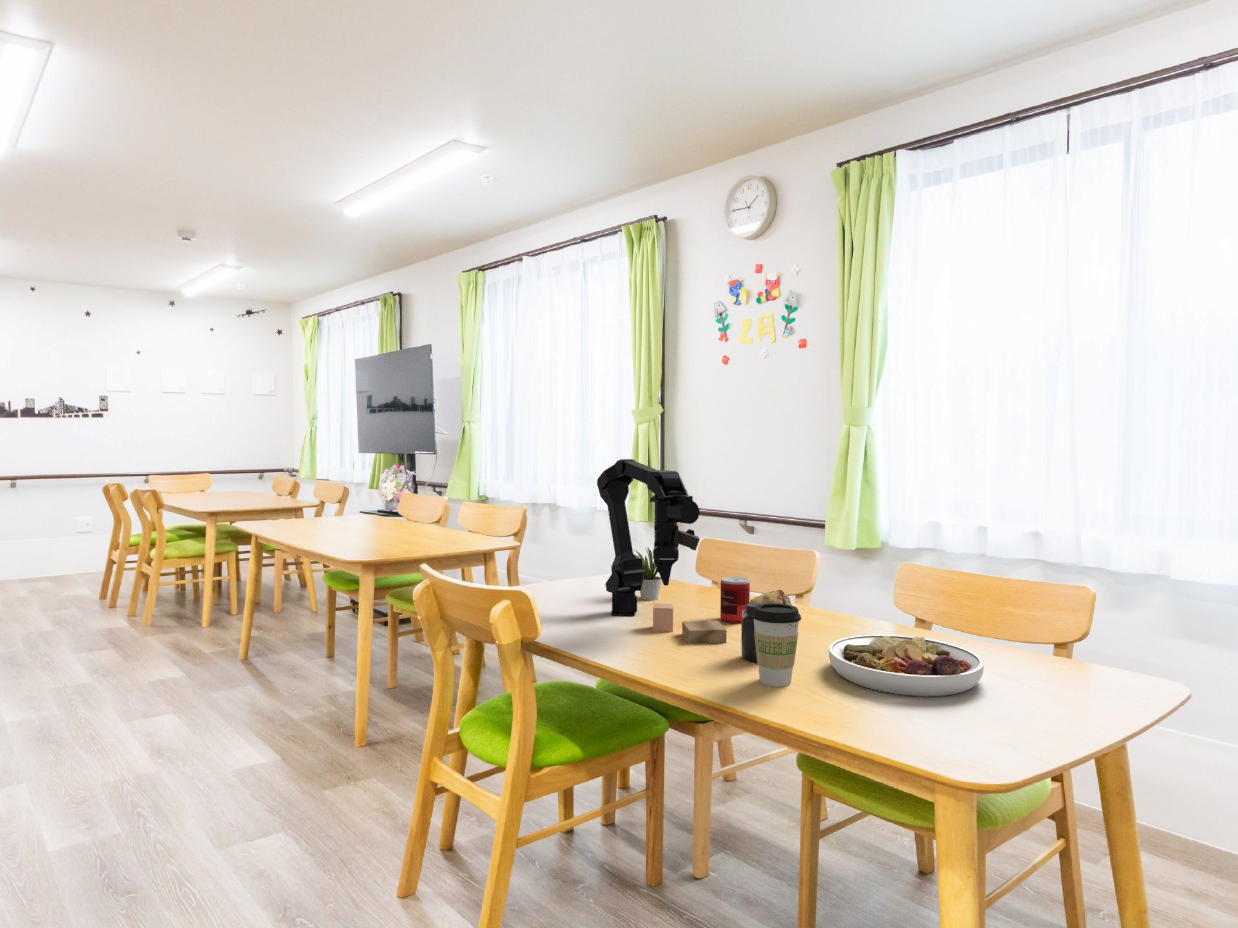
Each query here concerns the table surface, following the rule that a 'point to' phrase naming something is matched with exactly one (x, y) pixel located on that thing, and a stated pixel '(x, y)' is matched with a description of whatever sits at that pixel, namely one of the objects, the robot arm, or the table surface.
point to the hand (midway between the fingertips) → (666, 582)
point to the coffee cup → (776, 642)
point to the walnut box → (703, 632)
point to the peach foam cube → (663, 617)
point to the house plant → (649, 578)
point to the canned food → (734, 598)
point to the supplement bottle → (748, 634)
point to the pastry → (772, 598)
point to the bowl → (906, 664)
